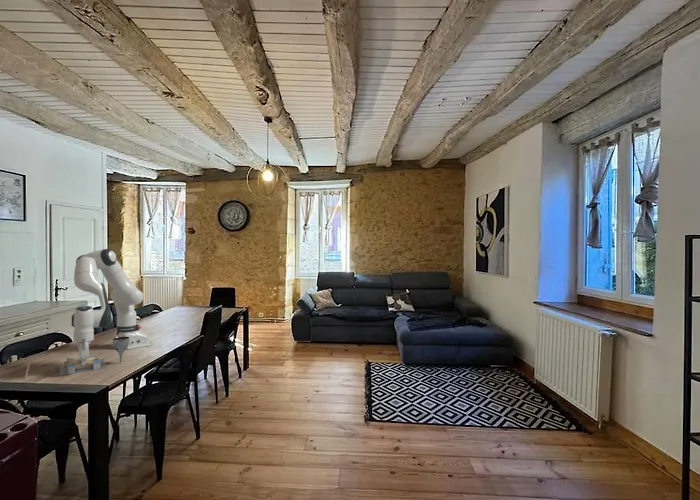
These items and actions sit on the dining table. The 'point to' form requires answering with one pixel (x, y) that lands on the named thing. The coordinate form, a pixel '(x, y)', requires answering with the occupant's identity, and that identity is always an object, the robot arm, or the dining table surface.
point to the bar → (78, 362)
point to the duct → (82, 367)
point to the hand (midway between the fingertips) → (83, 363)
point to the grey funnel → (120, 345)
